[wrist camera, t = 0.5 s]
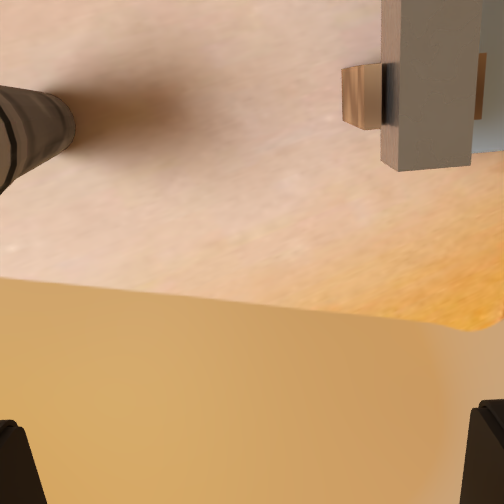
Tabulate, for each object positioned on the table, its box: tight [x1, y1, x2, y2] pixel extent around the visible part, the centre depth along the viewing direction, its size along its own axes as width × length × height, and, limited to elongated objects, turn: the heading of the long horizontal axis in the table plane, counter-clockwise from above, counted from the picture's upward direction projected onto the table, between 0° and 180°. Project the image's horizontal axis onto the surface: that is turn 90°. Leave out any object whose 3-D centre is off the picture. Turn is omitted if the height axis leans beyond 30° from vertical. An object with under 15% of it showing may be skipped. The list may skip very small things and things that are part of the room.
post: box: [342, 53, 487, 130], centre depth 30 cm, size 4×7×8 cm, turn 95°
